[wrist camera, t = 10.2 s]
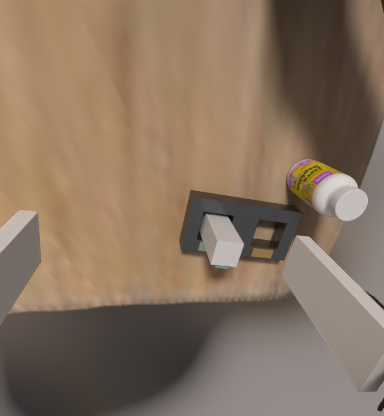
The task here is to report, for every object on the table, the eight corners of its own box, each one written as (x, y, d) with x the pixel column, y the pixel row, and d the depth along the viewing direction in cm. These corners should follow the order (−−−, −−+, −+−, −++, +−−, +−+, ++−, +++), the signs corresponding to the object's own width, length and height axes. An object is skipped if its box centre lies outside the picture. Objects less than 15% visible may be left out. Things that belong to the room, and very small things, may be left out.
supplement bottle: (303, 150, 46) (356, 172, 34) (328, 171, 48) (385, 198, 36) (277, 182, 47) (319, 213, 36) (302, 200, 50) (349, 235, 38)
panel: (190, 190, 46) (193, 197, 43) (295, 206, 50) (304, 213, 47) (179, 240, 49) (181, 250, 46) (277, 251, 54) (284, 261, 51)
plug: (203, 208, 47) (217, 240, 37) (224, 211, 48) (244, 244, 38) (197, 232, 49) (209, 268, 39) (218, 234, 50) (234, 271, 40)
